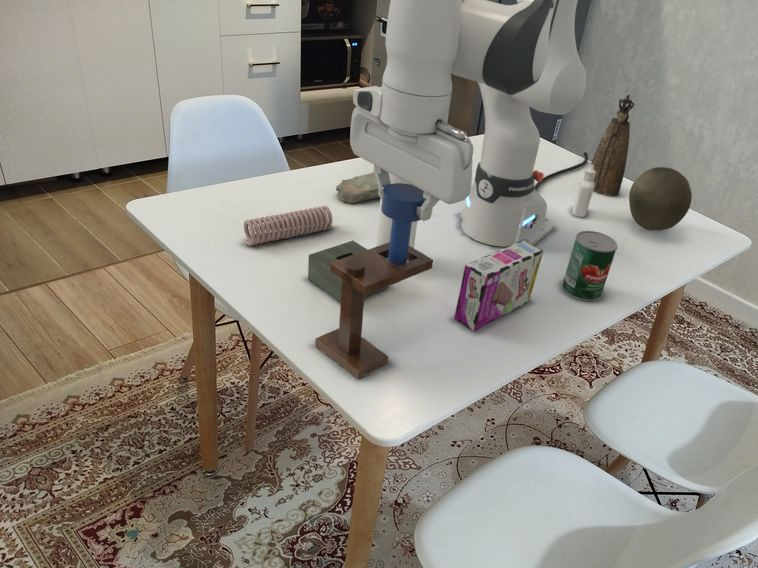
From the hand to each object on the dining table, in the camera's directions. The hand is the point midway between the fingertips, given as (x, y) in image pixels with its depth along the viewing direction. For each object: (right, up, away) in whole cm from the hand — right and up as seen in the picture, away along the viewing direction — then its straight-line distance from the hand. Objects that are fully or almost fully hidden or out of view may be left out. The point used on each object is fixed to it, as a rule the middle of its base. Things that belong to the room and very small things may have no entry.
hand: (403, 207), depth 93 cm
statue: (+44, +22, +80) cm, 94 cm away
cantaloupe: (+52, +8, +64) cm, 83 cm away
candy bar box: (+9, -12, +16) cm, 22 cm away
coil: (-25, +2, +35) cm, 43 cm away
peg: (-2, -8, +6) cm, 11 cm away
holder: (-12, -8, +24) cm, 28 cm away
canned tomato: (+31, -9, +36) cm, 48 cm away
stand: (-6, -19, +11) cm, 23 cm away
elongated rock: (-7, +18, +62) cm, 65 cm away
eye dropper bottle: (+36, +13, +66) cm, 76 cm away
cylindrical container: (-5, -3, +34) cm, 34 cm away
